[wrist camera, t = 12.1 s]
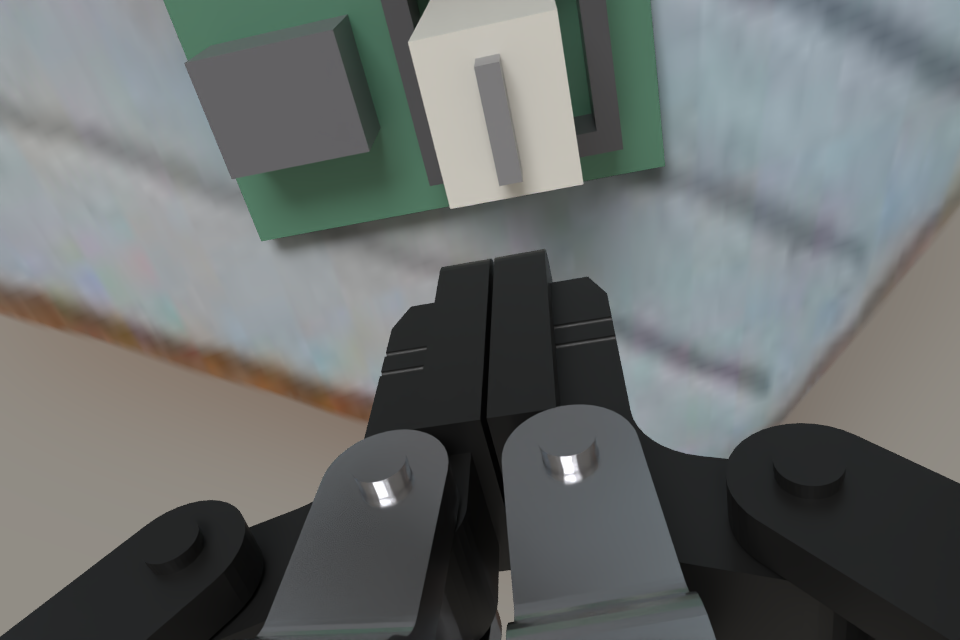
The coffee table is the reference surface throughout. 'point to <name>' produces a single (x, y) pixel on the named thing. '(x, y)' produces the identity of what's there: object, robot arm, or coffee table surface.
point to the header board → (385, 102)
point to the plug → (496, 98)
